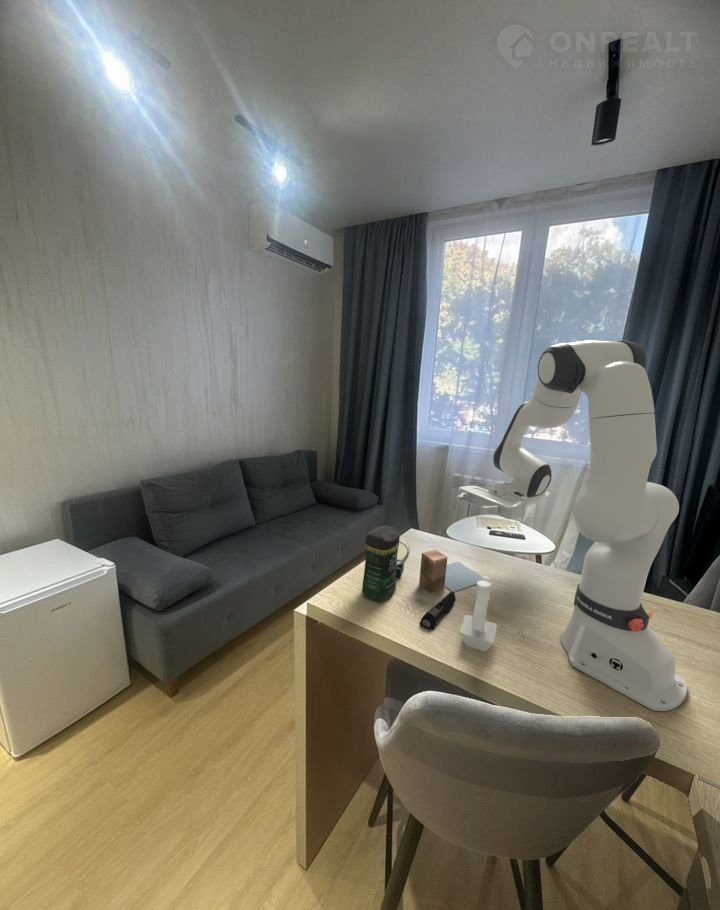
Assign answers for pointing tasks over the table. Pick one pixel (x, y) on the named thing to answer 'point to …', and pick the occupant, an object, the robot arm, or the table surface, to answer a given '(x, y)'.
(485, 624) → the white peg stand
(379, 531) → the coffee jar
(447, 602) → the electric trimmer
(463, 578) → the slate pad
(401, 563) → the watch
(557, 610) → the table surface
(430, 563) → the walnut block
